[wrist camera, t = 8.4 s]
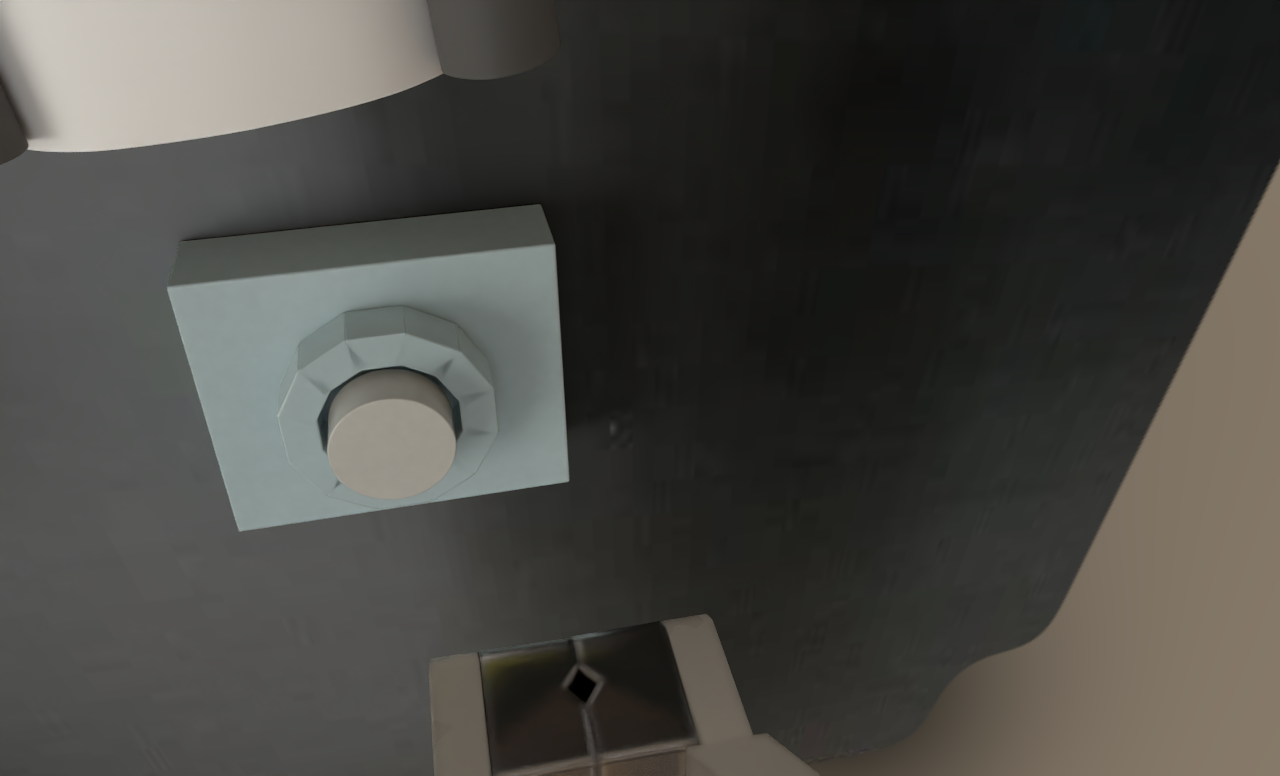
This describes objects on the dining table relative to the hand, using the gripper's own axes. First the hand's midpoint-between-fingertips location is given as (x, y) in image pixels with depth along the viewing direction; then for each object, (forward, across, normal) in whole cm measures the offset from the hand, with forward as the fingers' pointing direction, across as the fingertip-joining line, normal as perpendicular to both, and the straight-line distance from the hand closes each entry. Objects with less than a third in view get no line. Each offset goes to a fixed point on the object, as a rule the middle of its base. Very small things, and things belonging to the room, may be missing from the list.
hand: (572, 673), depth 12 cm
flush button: (+22, +3, +12) cm, 25 cm away
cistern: (+26, +4, +12) cm, 29 cm away
